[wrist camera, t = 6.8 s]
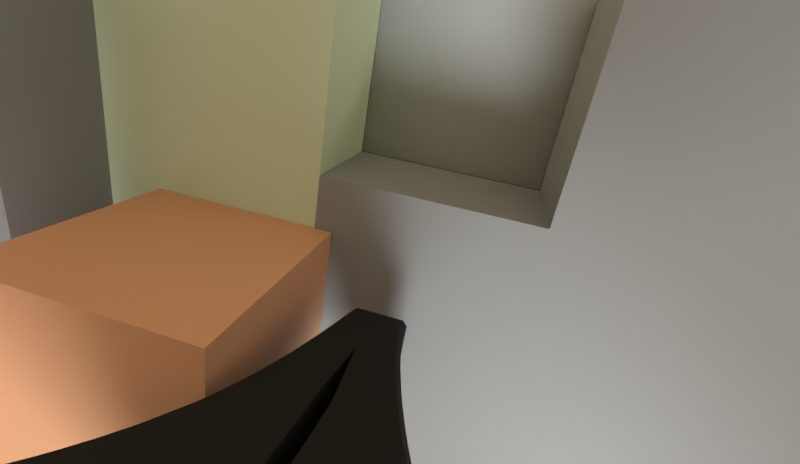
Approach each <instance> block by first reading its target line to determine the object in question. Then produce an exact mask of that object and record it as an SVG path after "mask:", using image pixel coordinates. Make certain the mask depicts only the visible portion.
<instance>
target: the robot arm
mask: <svg viewBox="0 0 800 464" xmlns="http://www.w3.org/2000/svg"><path fill="white" fill-rule="evenodd" d="M406 328H407V326H406V324H405V323H404V321H403V320H399V319H396V318H392V317H388V316H385V315H381V314H378V313H374V312H371V311H367V310H364V309H360V308H356V309H354V310H352V311H351V312H349V313H348V314H347V315H345V316H344V317H342V318H341V319H340V320H338V321H337V322H335V323H334V324H333V325H331V326H330V327H328V328H327V329H325V330H324V331H322V332H321V333H320V334H318V335H317V336H315V337H314V338H312V339H311V340H309V341H307V342H306V343H304V344H303V345H301V346H300V347H298V348H297V349H295V350H293V351H292V352H290V353H289V354H287V355H285V356H284V357H282V358H280V359H278V360H277V361H275V362H273V363H271V364H270V365H268V366H266V367H264V368H263V369H261V370H259V371H258V372H256V373H254V374H252V375H250V376H248V377H246V378H245V379H243V380H241V381H239V382H237V383H235V384H233V385H231V386H229V387H227V388H225V389H223V390H220V391H218V392H216V393H214V394H212V395H210V396H208V397H205V398H203V399H201V400H198V401H196V402H194V403H191V404H189V405H186V406H183V407H181V408H178V409H176V410H173V411H171V412H168V413H165V414H163V415H160V416H158V417H155V418H153V419H150V420H147V421H145V422H142V423H140V424H137V425H134V426H131V427H128V428H125V429H122V430H119V431H116V432H113V433H110V434H107V435H104V436H101V437H98V438H95V439H92V440H89V441H85V442H82V443H79V444H75V445H72V446H69V447H66V448H62V449H59V450H55V451H52V452H48V453H45V454H41V455H38V456H34V457H30V458H26V459H22V460H18V461H14V462H11V463H7V464H412V463H411V458H410V453H409V448H408V442H407V436H406V429H405V422H404V414H403V405H402V394H401V371H400V365H401V352H402V347H403V342H404V337H405V333H406Z"/></svg>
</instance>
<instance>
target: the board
mask: <svg viewBox="0 0 800 464" xmlns="http://www.w3.org/2000/svg"><path fill="white" fill-rule="evenodd" d="M381 2H382V0H0V243H1V242H4V241H7V240H10V239H13V238H16V237H19V236H22V235H25V234H28V233H31V232H34V231H37V230H40V229H43V228H45V227H48V226H51V225H54V224H57V223H60V222H63V221H66V220H69V219H72V218H75V217H78V216H81V215H84V214H87V213H89V212H92V211H95V210H98V209H101V208H104V207H107V206H110V205H113V204H116V203H119V202H122V201H125V200H128V199H131V198H133V197H136V196H139V195H142V194H145V193H148V192H151V191H154V190H157V189H160V188H161V189H165V190H169V191H173V192H176V193H180V194H184V195H188V196H192V197H196V198H200V199H204V200H207V201H211V202H215V203H219V204H223V205H227V206H231V207H235V208H238V209H242V210H246V211H250V212H254V213H258V214H262V215H266V216H269V217H273V218H277V219H281V220H285V221H289V222H293V223H296V224H300V225H304V226H308V227H312V228H316V229H320V230H324V231H327V232H331V242H330V251H329V259H328V268H327V277H326V286H325V294H324V303H323V312H322V320H321V329H320V333H321V332H322V331H324V330H325V329H327V328H328V327H330V326H331V325H333V324H334V323H335V322H337V321H338V320H340V319H341V318H342V317H344V316H345V315H347V314H348V313H349V312H351V311H352V310H354V309H356V308H360V309H364V310H367V311H371V312H374V313H378V314H381V315H385V316H388V317H392V318H396V319H399V320H403V321H404V323H405V324H406V326H407V328H406V333H405V337H404V342H403V347H402V352H401V365H400V371H401V394H402V405H403V414H404V422H405V429H406V436H407V442H408V448H409V453H410V458H411V463H412V464H800V0H600V1H598V2H597V6H596V9H595V12H594V16H593V19H592V22H591V25H590V29H589V32H588V35H587V38H586V42H585V45H584V48H583V51H582V55H581V58H580V61H579V65H578V68H577V71H576V74H575V78H574V81H573V84H572V87H571V91H570V94H569V97H568V100H567V104H566V107H565V110H564V114H563V117H562V120H561V123H560V127H559V130H558V133H557V136H556V140H555V143H554V146H553V149H552V153H551V156H550V159H549V163H548V166H547V169H546V172H545V176H544V179H543V182H542V185H541V189H540V191H539V190H534V189H530V188H525V187H520V186H516V185H511V184H507V183H502V182H498V181H493V180H489V179H484V178H480V177H475V176H471V175H466V174H462V173H457V172H453V171H448V170H444V169H439V168H435V167H430V166H426V165H421V164H416V163H412V162H407V161H403V160H398V159H394V158H389V157H385V156H380V155H376V154H371V153H367V152H362V146H363V138H364V131H365V123H366V115H367V108H368V100H369V93H370V85H371V78H372V70H373V63H374V55H375V47H376V40H377V32H378V25H379V17H380V10H381Z"/></svg>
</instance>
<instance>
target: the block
mask: <svg viewBox="0 0 800 464" xmlns="http://www.w3.org/2000/svg"><path fill="white" fill-rule="evenodd" d="M330 242H331V232H327V231H324V230H320V229H316V228H312V227H308V226H304V225H300V224H296V223H293V222H289V221H285V220H281V219H277V218H273V217H269V216H266V215H262V214H258V213H254V212H250V211H246V210H242V209H238V208H235V207H231V206H227V205H223V204H219V203H215V202H211V201H207V200H204V199H200V198H196V197H192V196H188V195H184V194H180V193H176V192H173V191H169V190H165V189H161V188H160V189H157V190H154V191H151V192H148V193H145V194H142V195H139V196H136V197H133V198H131V199H128V200H125V201H122V202H119V203H116V204H113V205H110V206H107V207H104V208H101V209H98V210H95V211H92V212H89V213H87V214H84V215H81V216H78V217H75V218H72V219H69V220H66V221H63V222H60V223H57V224H54V225H51V226H48V227H45V228H43V229H40V230H37V231H34V232H31V233H28V234H25V235H22V236H19V237H16V238H13V239H10V240H7V241H4V242H1V243H0V464H7V463H11V462H14V461H18V460H22V459H26V458H30V457H34V456H38V455H41V454H45V453H48V452H52V451H55V450H59V449H62V448H66V447H69V446H72V445H75V444H79V443H82V442H85V441H89V440H92V439H95V438H98V437H101V436H104V435H107V434H110V433H113V432H116V431H119V430H122V429H125V428H128V427H131V426H134V425H137V424H140V423H142V422H145V421H147V420H150V419H153V418H155V417H158V416H160V415H163V414H165V413H168V412H171V411H173V410H176V409H178V408H181V407H183V406H186V405H189V404H191V403H194V402H196V401H198V400H201V399H203V398H205V397H208V396H210V395H212V394H214V393H216V392H218V391H220V390H223V389H225V388H227V387H229V386H231V385H233V384H235V383H237V382H239V381H241V380H243V379H245V378H246V377H248V376H250V375H252V374H254V373H256V372H258V371H259V370H261V369H263V368H264V367H266V366H268V365H270V364H271V363H273V362H275V361H277V360H278V359H280V358H282V357H284V356H285V355H287V354H289V353H290V352H292V351H293V350H295V349H297V348H298V347H300V346H301V345H303V344H304V343H306V342H307V341H309V340H311V339H312V338H314V337H315V336H317V335H318V334H320V329H321V320H322V312H323V303H324V294H325V286H326V277H327V268H328V259H329V251H330Z"/></svg>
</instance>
